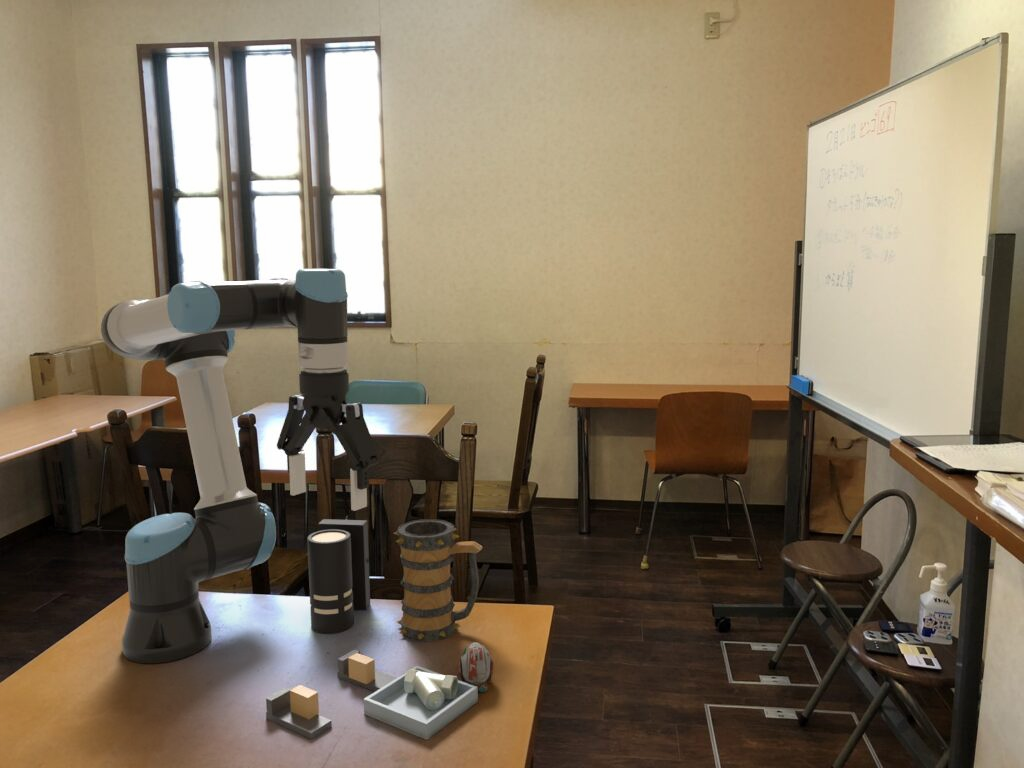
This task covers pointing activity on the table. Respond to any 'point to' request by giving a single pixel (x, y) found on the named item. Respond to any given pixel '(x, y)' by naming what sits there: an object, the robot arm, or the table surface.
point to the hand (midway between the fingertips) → (327, 500)
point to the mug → (432, 578)
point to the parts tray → (417, 707)
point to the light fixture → (338, 574)
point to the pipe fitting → (431, 687)
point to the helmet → (476, 665)
